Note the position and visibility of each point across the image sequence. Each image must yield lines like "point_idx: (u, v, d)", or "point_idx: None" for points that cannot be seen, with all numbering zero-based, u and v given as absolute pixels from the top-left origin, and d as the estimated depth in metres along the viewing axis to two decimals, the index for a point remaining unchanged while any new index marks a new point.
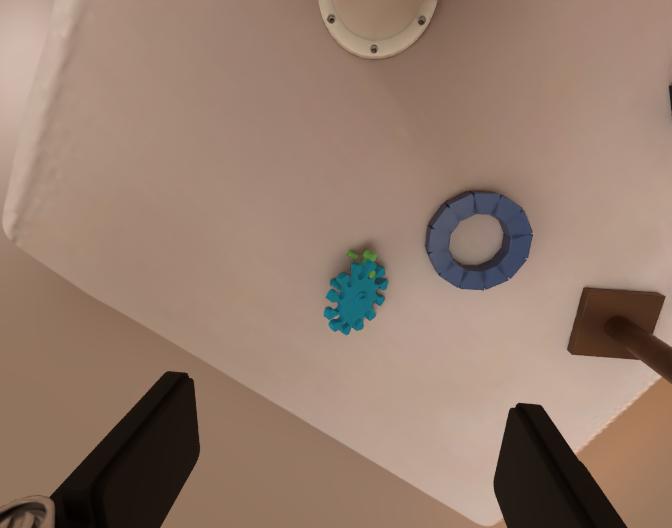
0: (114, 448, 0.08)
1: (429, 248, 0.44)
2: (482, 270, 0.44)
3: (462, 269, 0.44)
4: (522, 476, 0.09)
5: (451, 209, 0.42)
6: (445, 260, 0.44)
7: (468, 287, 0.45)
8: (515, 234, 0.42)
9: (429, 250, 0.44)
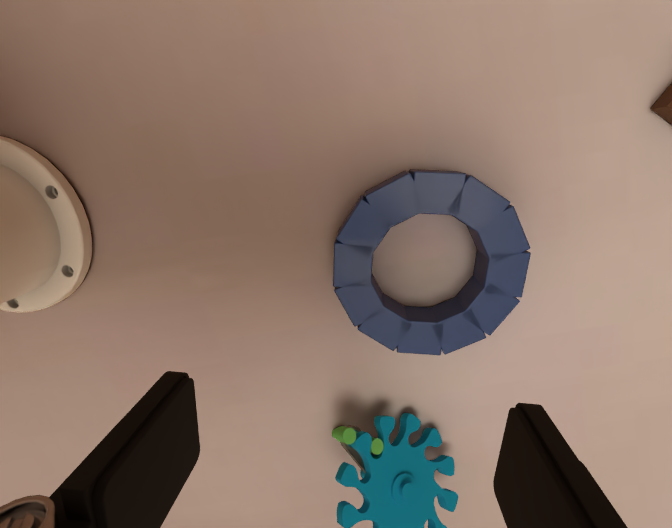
0: (114, 448, 0.08)
1: (388, 346, 0.24)
2: (483, 284, 0.23)
3: (457, 316, 0.23)
4: (522, 476, 0.09)
5: (343, 286, 0.23)
6: (424, 333, 0.24)
7: (497, 322, 0.23)
8: (451, 205, 0.21)
9: (392, 348, 0.24)
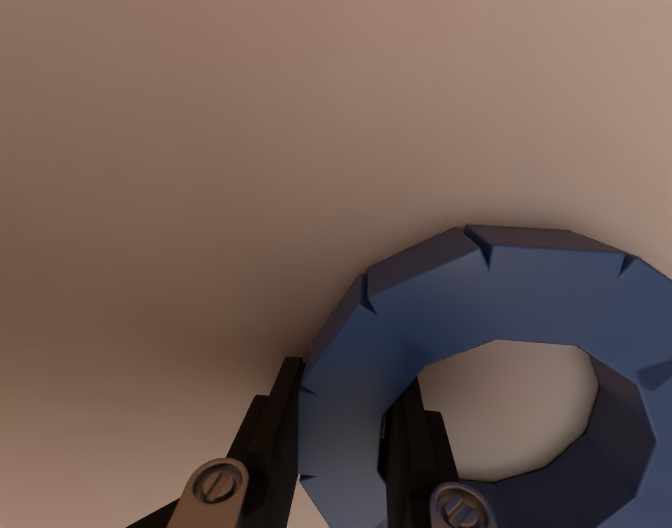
0: (275, 420, 0.09)
1: None
2: (630, 484, 0.10)
3: None
4: (390, 425, 0.10)
5: (318, 474, 0.11)
6: None
7: None
8: (579, 326, 0.09)
9: None
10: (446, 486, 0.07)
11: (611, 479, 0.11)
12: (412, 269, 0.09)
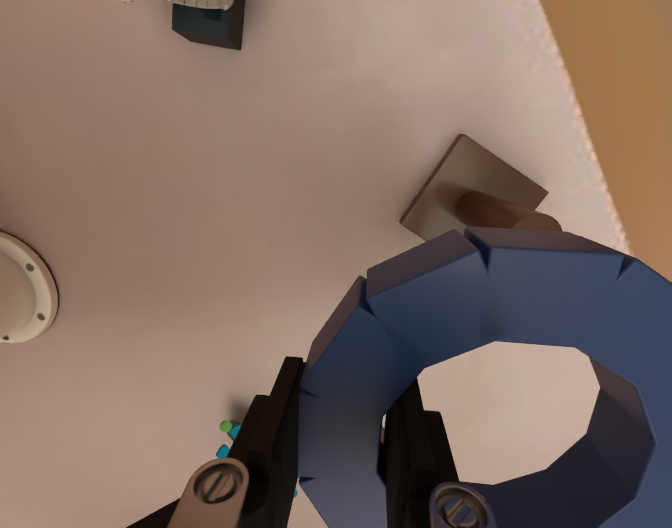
0: (276, 420, 0.09)
1: None
2: (630, 486, 0.10)
3: None
4: (390, 425, 0.10)
5: (317, 476, 0.11)
6: None
7: None
8: (578, 328, 0.09)
9: None
10: (445, 486, 0.07)
11: (611, 480, 0.11)
12: (411, 271, 0.09)
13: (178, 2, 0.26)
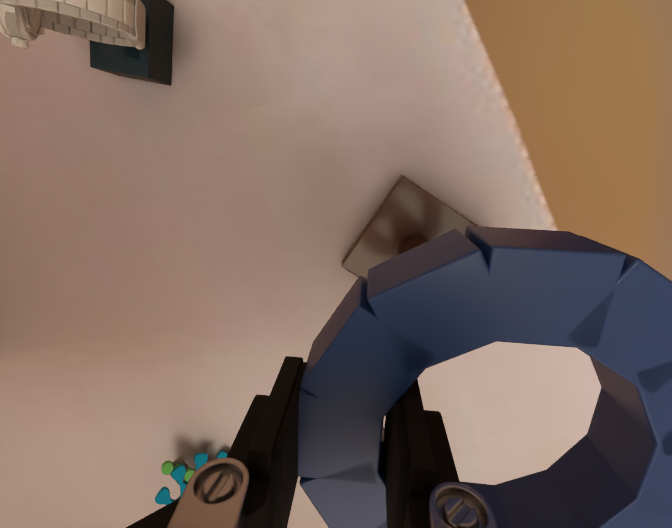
0: (276, 420, 0.09)
1: None
2: (632, 486, 0.10)
3: None
4: (390, 425, 0.10)
5: (318, 476, 0.11)
6: None
7: None
8: (579, 327, 0.08)
9: None
10: (445, 486, 0.07)
11: (612, 481, 0.11)
12: (412, 271, 0.09)
13: (94, 40, 0.25)
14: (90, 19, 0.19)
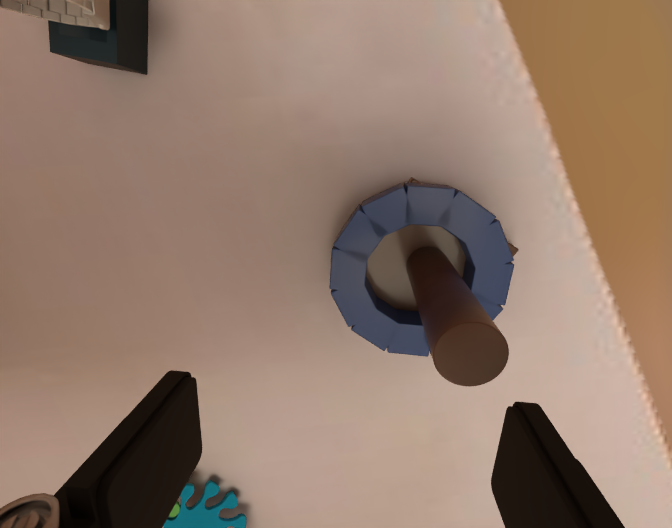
0: (118, 447, 0.08)
1: (380, 346, 0.26)
2: None
3: None
4: (519, 474, 0.09)
5: (339, 288, 0.25)
6: (413, 336, 0.25)
7: None
8: (441, 218, 0.23)
9: (383, 348, 0.26)
10: None
11: None
12: (379, 196, 0.23)
13: (52, 19, 0.21)
14: None
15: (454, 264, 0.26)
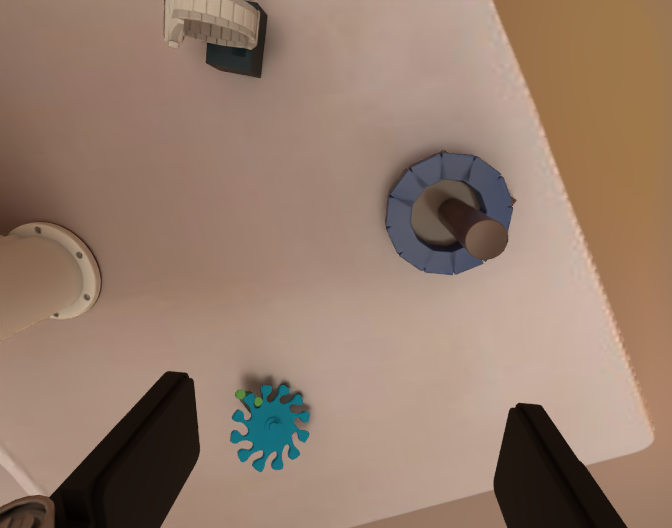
0: (114, 448, 0.08)
1: (419, 268, 0.37)
2: None
3: None
4: (522, 476, 0.09)
5: (392, 225, 0.36)
6: (443, 259, 0.36)
7: None
8: (464, 175, 0.34)
9: (421, 269, 0.37)
10: None
11: None
12: (422, 161, 0.34)
13: (212, 42, 0.33)
14: (234, 28, 0.27)
15: None
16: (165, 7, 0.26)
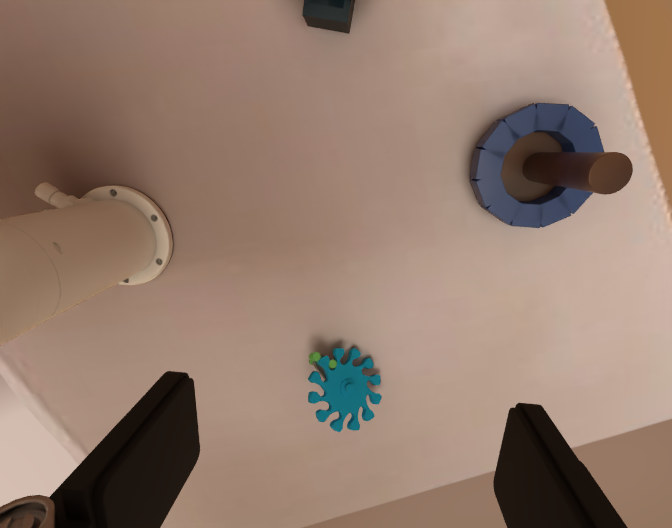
0: (114, 448, 0.08)
1: (506, 221, 0.37)
2: None
3: (554, 200, 0.36)
4: (522, 476, 0.09)
5: (482, 178, 0.36)
6: (531, 212, 0.37)
7: (579, 204, 0.36)
8: (558, 125, 0.34)
9: (508, 222, 0.37)
10: None
11: None
12: (515, 112, 0.35)
13: None
14: None
15: None
16: None
